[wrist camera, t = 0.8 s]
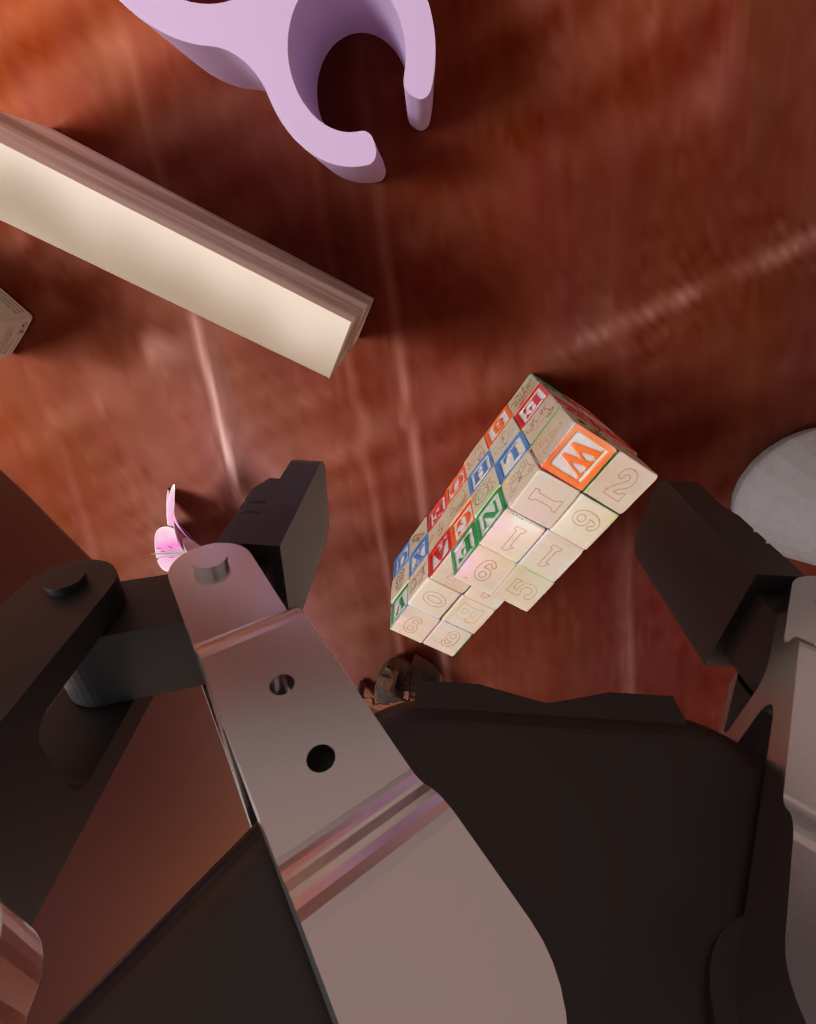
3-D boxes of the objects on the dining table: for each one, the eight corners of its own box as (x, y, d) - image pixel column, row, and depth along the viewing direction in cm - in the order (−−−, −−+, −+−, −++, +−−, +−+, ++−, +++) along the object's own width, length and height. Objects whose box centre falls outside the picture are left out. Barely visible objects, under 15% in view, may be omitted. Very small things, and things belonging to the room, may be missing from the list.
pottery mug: (454, 692, 54) (428, 762, 50) (387, 667, 59) (357, 730, 54) (435, 643, 46) (401, 722, 41) (359, 619, 50) (320, 688, 46)
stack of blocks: (446, 586, 46) (453, 688, 35) (393, 560, 44) (383, 658, 34) (592, 410, 36) (663, 477, 26) (530, 369, 35) (578, 422, 24)
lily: (223, 444, 40) (110, 478, 32) (299, 554, 40) (204, 613, 32) (179, 505, 47) (80, 543, 40) (243, 597, 47) (156, 652, 40)
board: (50, 127, 28) (-167, 57, 18) (374, 298, 32) (351, 322, 22) (47, 181, 29) (-157, 144, 19) (358, 338, 34) (329, 378, 23)
